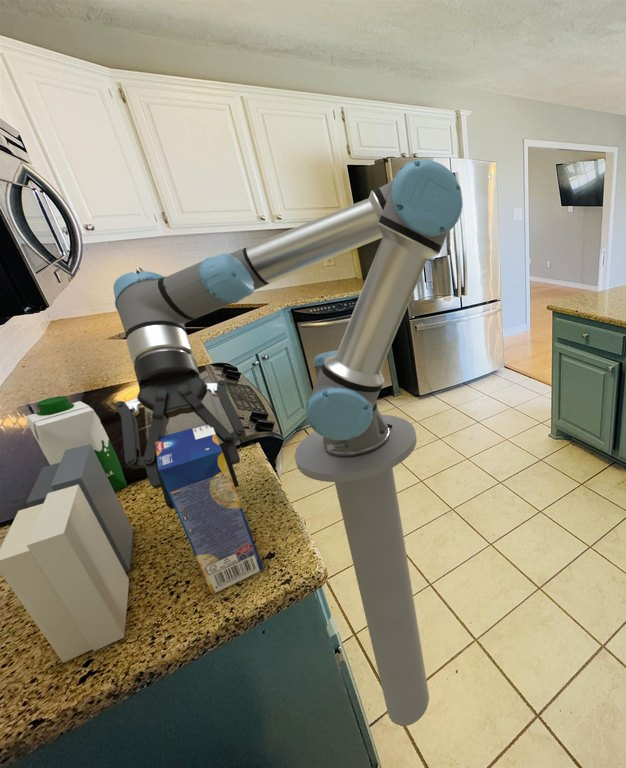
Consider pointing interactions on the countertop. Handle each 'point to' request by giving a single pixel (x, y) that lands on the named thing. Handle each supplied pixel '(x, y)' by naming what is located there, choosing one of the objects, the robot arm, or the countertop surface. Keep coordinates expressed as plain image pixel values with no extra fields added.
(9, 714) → the countertop surface
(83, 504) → the cream books
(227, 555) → the beverage box
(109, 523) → the grey books
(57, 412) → the milk carton
